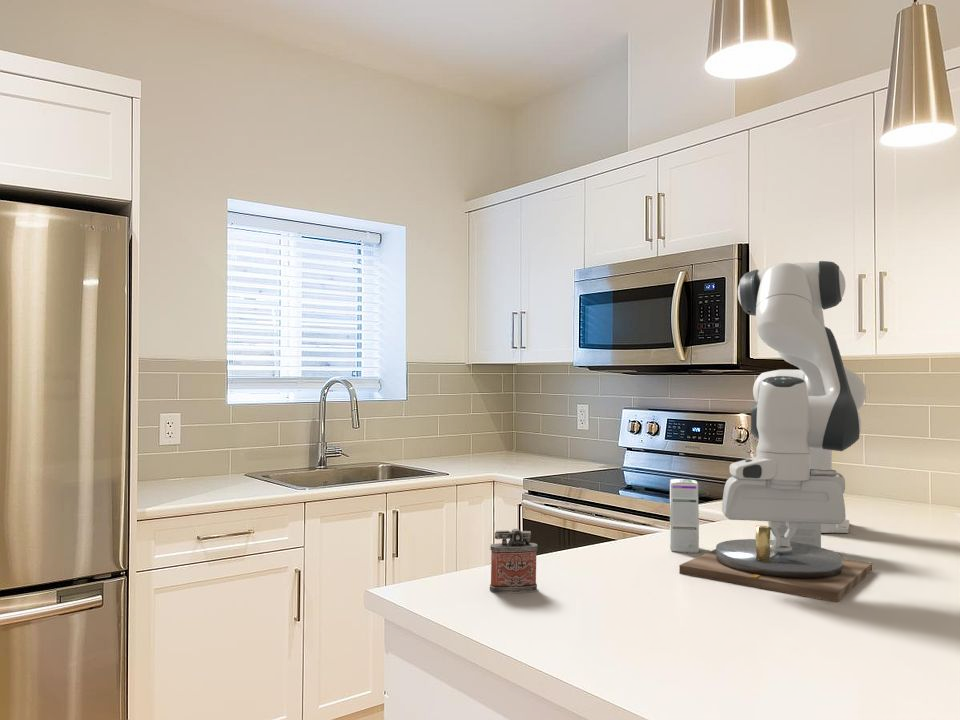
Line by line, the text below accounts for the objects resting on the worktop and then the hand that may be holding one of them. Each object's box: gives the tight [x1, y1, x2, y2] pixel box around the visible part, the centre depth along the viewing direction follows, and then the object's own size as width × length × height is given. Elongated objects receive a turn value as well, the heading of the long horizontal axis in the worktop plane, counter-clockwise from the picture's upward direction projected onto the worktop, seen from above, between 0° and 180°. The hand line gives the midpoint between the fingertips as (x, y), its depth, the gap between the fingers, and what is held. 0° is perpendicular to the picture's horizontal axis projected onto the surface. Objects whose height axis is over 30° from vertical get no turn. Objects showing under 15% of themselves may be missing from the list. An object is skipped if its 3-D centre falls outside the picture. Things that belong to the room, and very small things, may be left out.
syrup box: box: [669, 478, 700, 554], centre depth 159 cm, size 6×6×14 cm
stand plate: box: [678, 548, 873, 603], centre depth 141 cm, size 27×27×2 cm
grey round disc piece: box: [715, 525, 843, 578], centre depth 141 cm, size 22×22×8 cm
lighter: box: [489, 528, 539, 594], centre depth 126 cm, size 8×3×10 cm, turn 102°
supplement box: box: [770, 522, 822, 548], centre depth 160 cm, size 10×9×17 cm
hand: (782, 547), depth 132 cm, fingers closed
